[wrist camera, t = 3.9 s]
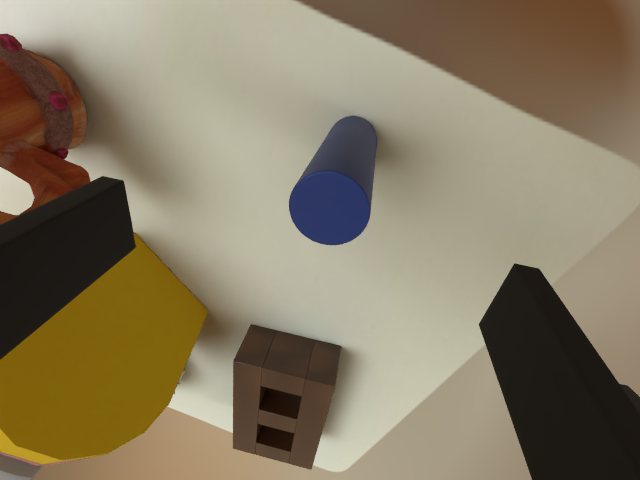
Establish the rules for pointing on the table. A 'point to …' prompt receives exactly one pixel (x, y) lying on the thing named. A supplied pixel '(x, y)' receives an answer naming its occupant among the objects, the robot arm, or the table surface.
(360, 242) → the table surface
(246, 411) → the holder
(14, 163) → the mug
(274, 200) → the table surface
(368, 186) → the blue long cylinder
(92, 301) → the alarm clock
